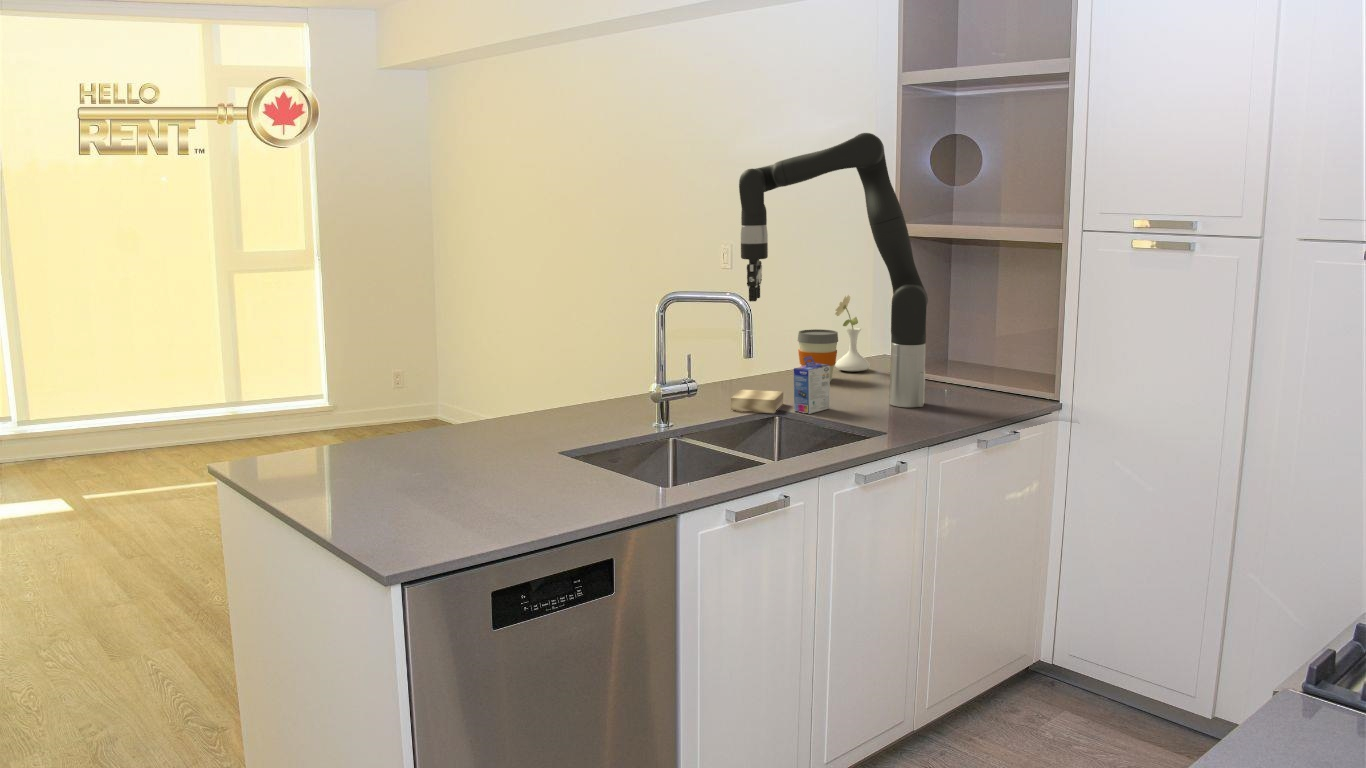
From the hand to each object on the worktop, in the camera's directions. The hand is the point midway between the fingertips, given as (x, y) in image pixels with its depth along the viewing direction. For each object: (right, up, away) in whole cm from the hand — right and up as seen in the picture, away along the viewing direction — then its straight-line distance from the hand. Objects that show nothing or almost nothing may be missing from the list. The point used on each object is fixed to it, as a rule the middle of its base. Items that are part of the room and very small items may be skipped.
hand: (754, 299), depth 296 cm
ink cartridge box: (+15, -31, -12) cm, 36 cm away
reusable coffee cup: (+22, -23, +32) cm, 45 cm away
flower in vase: (+35, -20, +47) cm, 62 cm away
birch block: (0, -31, -7) cm, 32 cm away
